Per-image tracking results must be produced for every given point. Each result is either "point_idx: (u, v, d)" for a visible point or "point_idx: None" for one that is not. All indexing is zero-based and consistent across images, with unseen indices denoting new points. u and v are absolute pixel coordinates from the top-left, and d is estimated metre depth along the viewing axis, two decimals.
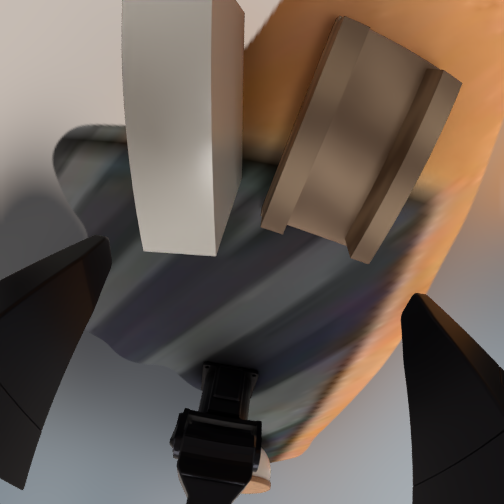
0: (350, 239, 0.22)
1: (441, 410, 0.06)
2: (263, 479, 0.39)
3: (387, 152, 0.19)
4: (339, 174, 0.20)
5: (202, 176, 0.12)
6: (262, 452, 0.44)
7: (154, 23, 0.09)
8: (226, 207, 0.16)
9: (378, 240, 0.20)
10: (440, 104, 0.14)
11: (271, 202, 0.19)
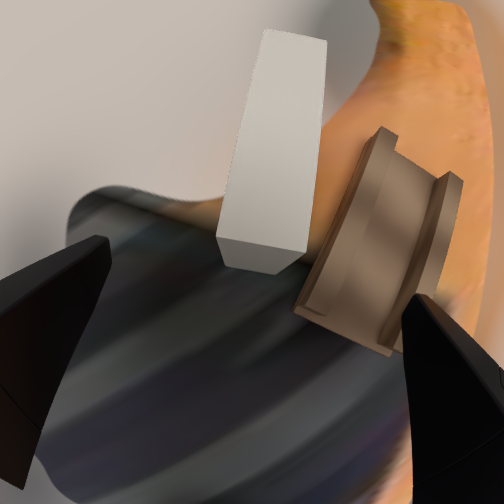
0: (385, 337, 0.19)
1: (441, 410, 0.06)
2: None
3: (411, 252, 0.21)
4: (372, 271, 0.21)
5: (307, 163, 0.13)
6: None
7: (284, 54, 0.14)
8: None
9: None
10: (451, 197, 0.19)
11: (319, 277, 0.18)
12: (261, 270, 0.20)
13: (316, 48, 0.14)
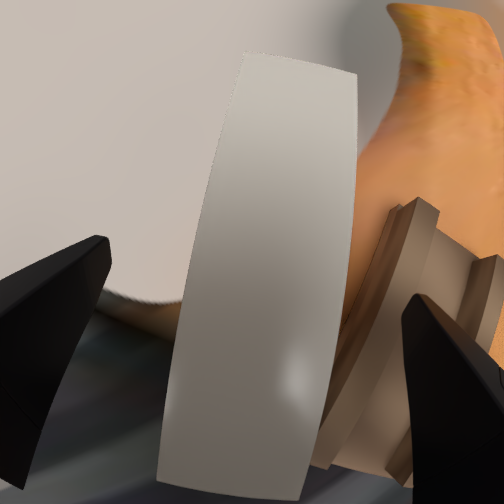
0: (395, 467, 0.13)
1: (441, 410, 0.06)
2: None
3: None
4: (389, 393, 0.15)
5: (315, 364, 0.06)
6: None
7: (280, 105, 0.08)
8: None
9: None
10: (496, 292, 0.13)
11: (321, 429, 0.12)
12: None
13: (339, 90, 0.08)
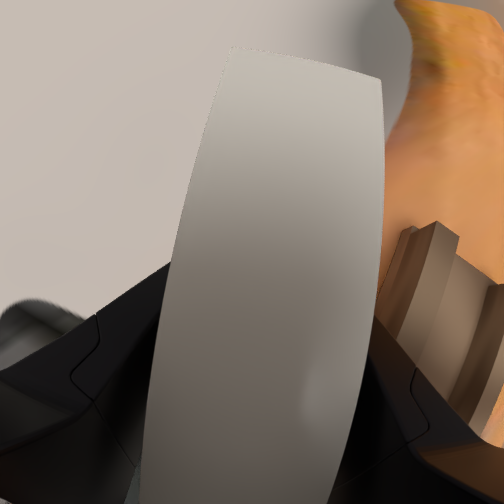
0: None
1: None
2: None
3: (448, 395, 0.13)
4: None
5: (316, 473, 0.04)
6: None
7: (279, 124, 0.06)
8: None
9: None
10: None
11: None
12: None
13: (359, 101, 0.06)
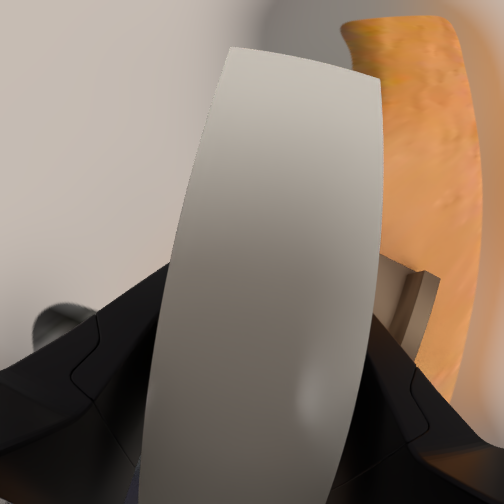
0: None
1: None
2: None
3: None
4: None
5: (315, 472, 0.04)
6: None
7: (278, 123, 0.06)
8: None
9: None
10: (423, 303, 0.18)
11: None
12: None
13: (358, 100, 0.06)
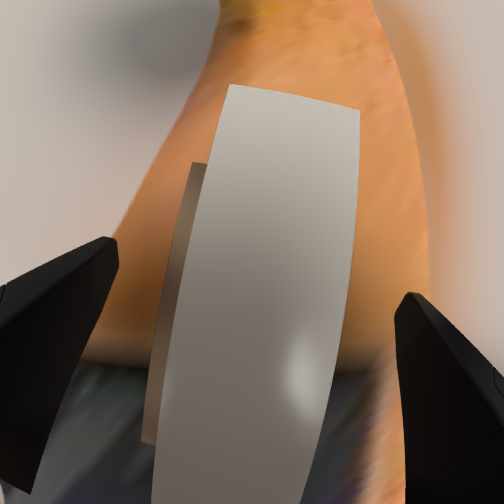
0: None
1: (434, 411, 0.06)
2: None
3: None
4: None
5: (299, 443, 0.06)
6: None
7: (269, 157, 0.07)
8: None
9: None
10: None
11: (145, 409, 0.13)
12: None
13: (338, 132, 0.07)
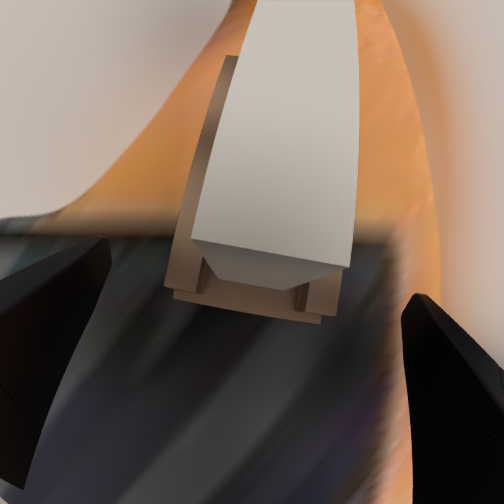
0: (300, 300, 0.16)
1: (441, 410, 0.06)
2: None
3: None
4: None
5: (344, 122, 0.07)
6: None
7: None
8: None
9: (336, 273, 0.14)
10: None
11: (173, 246, 0.14)
12: (266, 285, 0.15)
13: None
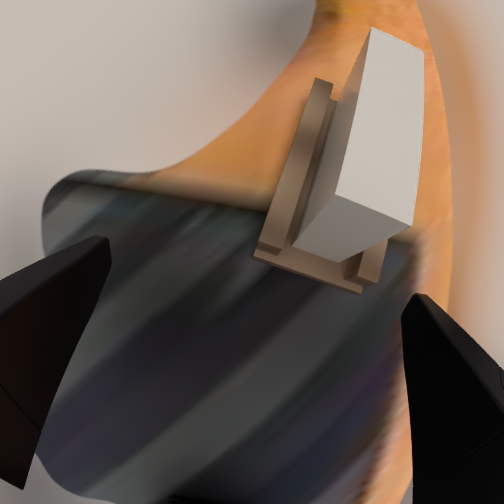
0: (351, 270, 0.20)
1: (441, 410, 0.06)
2: None
3: None
4: None
5: (413, 149, 0.12)
6: None
7: (390, 53, 0.13)
8: None
9: (380, 252, 0.19)
10: None
11: (269, 213, 0.19)
12: (329, 254, 0.20)
13: (415, 55, 0.14)
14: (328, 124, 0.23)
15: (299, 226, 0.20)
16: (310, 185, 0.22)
